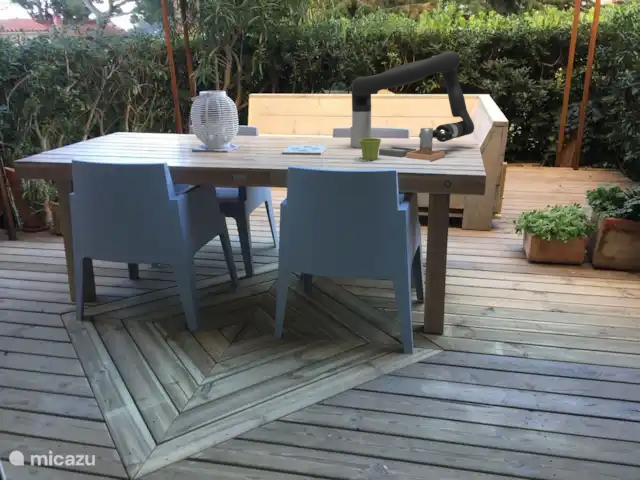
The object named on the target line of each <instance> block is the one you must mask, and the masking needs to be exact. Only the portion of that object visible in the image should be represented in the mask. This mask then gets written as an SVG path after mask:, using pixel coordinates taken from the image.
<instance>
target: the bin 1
mask: <svg viewBox="0 0 640 480" xmlns="http://www.w3.org/2000/svg"><path fill="white" fill-rule="evenodd" d="M415 150H417V148H412V147H411V148H410V147H401V146H389V147H382V148H381V147H379V150H378V156H388V157H397V158H404V157H405V158H406V153H408V152H412V151H415Z"/></svg>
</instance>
